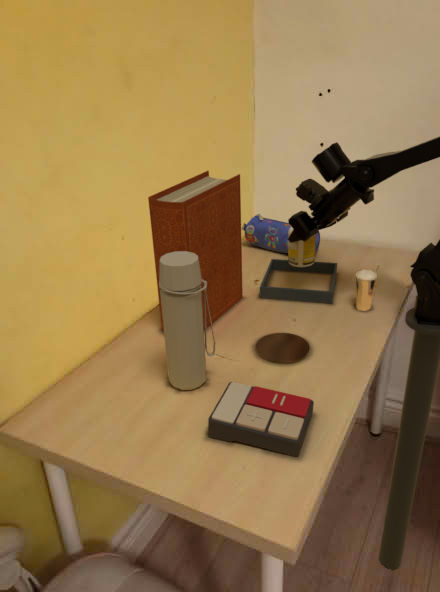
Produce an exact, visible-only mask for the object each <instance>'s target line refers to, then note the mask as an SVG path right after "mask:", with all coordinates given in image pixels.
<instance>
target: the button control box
mask: <svg viewBox="0 0 440 592" xmlns="http://www.w3.org/2000/svg"><path fill="white" fill-rule="evenodd" d="M314 405H315V402H314V400H312V399H311V398H309V397H305V396H300V395H296V394H292V393H287V392H283V391H280V390H279V391H278V390H274V389H271V388H265V387H261V386H256V385H254V386H253V385H249V384H245V383H240V382H237V381H229V382H228V384H227V386H226V388H225V389H224V391H223V393H222V395H221V396H220V398H219V400H218V401H217V403H216V405H215V406H214V408H213V410H212V412H211V413H210V415H209V417H208V421H207V423H208V424H207V425H208V426H207V428H208V431H207V434H208V437H210V438H213V439H217V440H221V441H225V442H228V443H230V442H239V443H243V444H246V445H250V446H253V447H256V448H257V447H258V448H260V449H265V450H268V451H273V452H276V453H280V454H283V455H288V456H292V457H295V458H297V457H299V456H300V454H301V450H302V448H303V444H304V442H305V439H306V435H307V432H308V429H309V427H310V423H311V420H312V418H313V412H314Z"/></svg>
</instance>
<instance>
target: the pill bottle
mask: <svg viewBox="0 0 440 592" xmlns="http://www.w3.org/2000/svg"><path fill="white" fill-rule="evenodd" d="M309 216H310V217H311V218H312V217H313V216H312V215H309ZM292 231H293V228H292V227H291V228H290V229H289V231H288V238H289V236H290V234H291V233H292ZM287 260H288V262H289V264H291V265H292V266H295V267H308V266H311V265H312V264H313V263H314V262H316V253H315V236H314V237H312V238H310V239H309V240H307V241H305V242H304V241H302V240H301V241H296V242H292V243H290V242H289V240H288V253H287Z"/></svg>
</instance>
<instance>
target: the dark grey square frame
mask: <svg viewBox="0 0 440 592" xmlns="http://www.w3.org/2000/svg"><path fill="white" fill-rule="evenodd" d="M274 271H280V272H281V271H282V272H297V273H311V274H323V275H324V274H325V275H332V279H331V287H330V290H320V289H309V288H308V289H307V288H293V287H281V286H280V287H279V286H268V285H269V282H270V279H271V277H272V274H273V272H274ZM337 275H338V262H329V261H328V262H326V261H325V262H324V261H314V263H313V264H312V265H311V266H308V267H295V266H292V265H291V264H289V262H288V259H279V258H278V259H277V258H271V259H270V262H269V264H268V267H267V269H266V271H265V274H264V275H263V279H262V281H261V283H260V286H259V298H260V299H268V300H282V301H294V302H306V303H319V304H330V305H333V302H334V295H335V289H336V288H335V287H336V282H337V281H336V280H337Z"/></svg>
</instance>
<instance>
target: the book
mask: <svg viewBox="0 0 440 592" xmlns="http://www.w3.org/2000/svg"><path fill="white" fill-rule="evenodd" d="M241 196H242V195H241V173H238V174H237V175H234V176H232V177H230V178H229V179H223V178H216V177H211V176H210V172H209V170H206V171H204V172H201V173H199V174H197V175H194V176H193V177H190V178H188V179H186V180H184V181H181V182H179V183H177V184H174V185H172V186H170V187H168V188H166V189H163V190H161V191H159V192H157V193H154V194H152V195H150V196H148V197H147V199H148V209H149V219H150V228H151V237H152V247H153V257H154V266H155V267H154V268H155V276H156V286H157V296H158V305H159V315H160V325H161V331H162V333H164V326H163V316H162V306H161V296H160V290H161V288H159V273H160V258H161V257H162V256H163V255H165V254H167V253H171V252H175V251H187V252H192V253H195V254H196V255H197V256H198V258H199V265H200V271H201V277H202V279H203V280H204V281H206V282H207V289H206V295H207V300H208V306H209V311H210V317H211V322H212V324H214V323H215V322H216V321H218V319H219V318H221V317H222V316H223V315H224V314H225V313H226V312H228V311H229V310H230V309H231V308H232V307H234V306H235V305H236V304H237V303H238V302H240V301H241V300H242V299H243V258H242V257H243V254H242V253H243V252H242V204H241V203H242V202H241ZM202 288H203V282H202V281H201V289H202ZM201 292H202V310H203V327H204V331H205V315H204V290H203V291H201ZM206 295H205V300H206ZM207 300H206V329H208V328H209V327H211V323H210V317H209V312H208V306H207Z"/></svg>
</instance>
